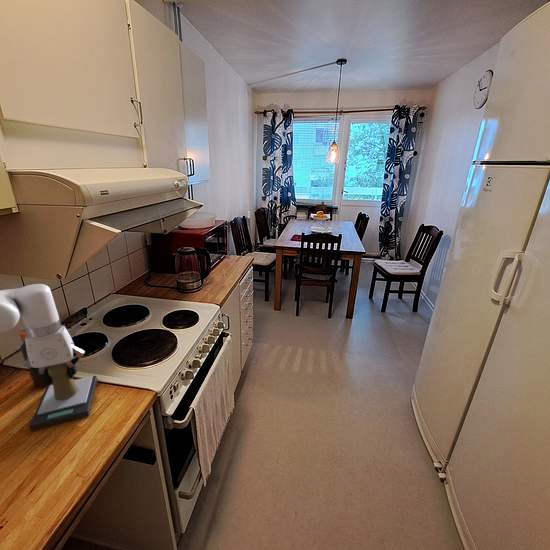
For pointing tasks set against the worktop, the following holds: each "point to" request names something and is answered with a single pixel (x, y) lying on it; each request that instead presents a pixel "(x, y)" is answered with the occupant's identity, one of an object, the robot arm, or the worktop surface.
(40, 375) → the bottle
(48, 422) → the scale
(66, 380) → the cork
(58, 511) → the worktop surface
